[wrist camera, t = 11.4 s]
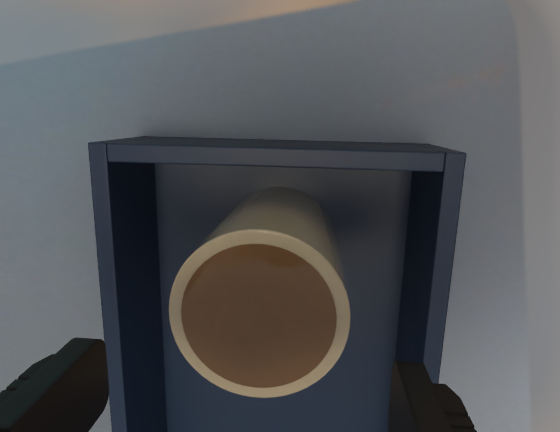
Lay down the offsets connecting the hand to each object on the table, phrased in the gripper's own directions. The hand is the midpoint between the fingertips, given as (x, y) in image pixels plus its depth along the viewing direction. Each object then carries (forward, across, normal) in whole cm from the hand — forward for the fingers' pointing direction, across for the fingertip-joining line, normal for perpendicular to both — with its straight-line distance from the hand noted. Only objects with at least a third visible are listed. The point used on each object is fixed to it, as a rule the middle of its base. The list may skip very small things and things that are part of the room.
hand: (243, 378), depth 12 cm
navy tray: (+13, 0, +7) cm, 15 cm away
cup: (+13, 0, 0) cm, 13 cm away
